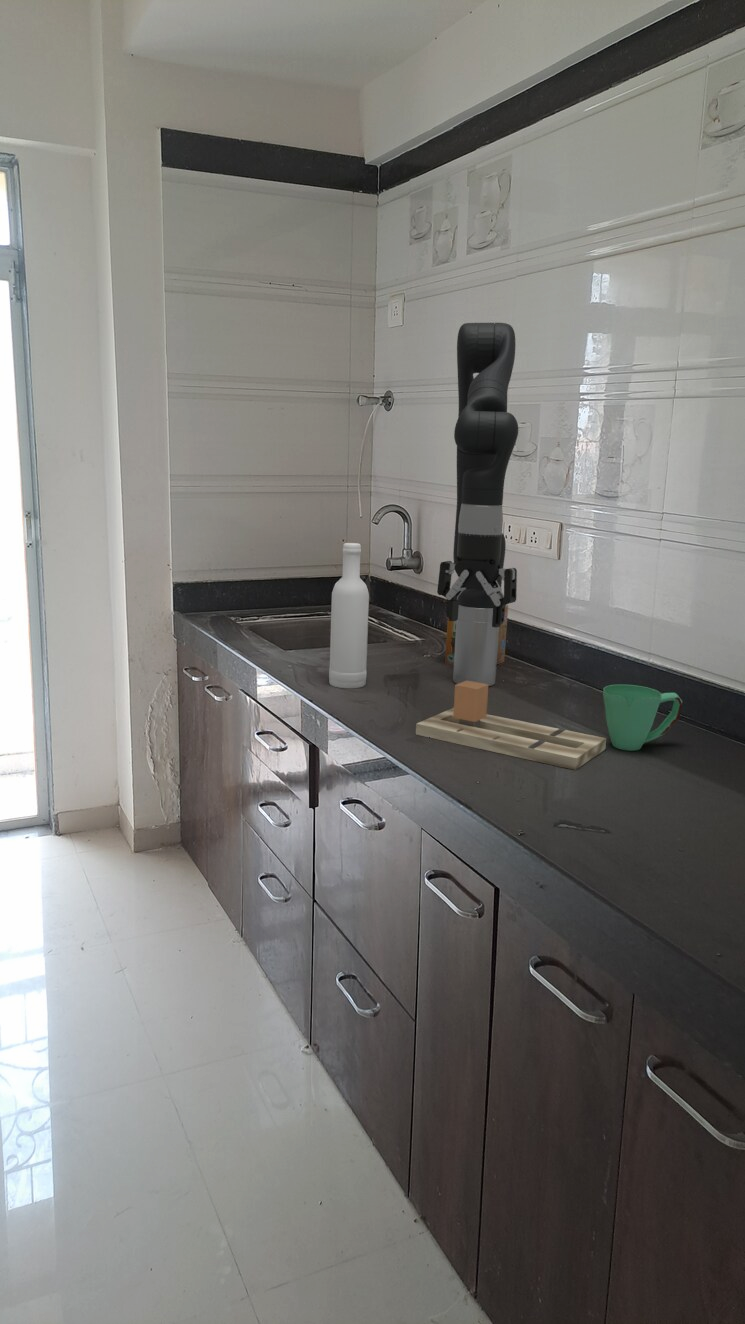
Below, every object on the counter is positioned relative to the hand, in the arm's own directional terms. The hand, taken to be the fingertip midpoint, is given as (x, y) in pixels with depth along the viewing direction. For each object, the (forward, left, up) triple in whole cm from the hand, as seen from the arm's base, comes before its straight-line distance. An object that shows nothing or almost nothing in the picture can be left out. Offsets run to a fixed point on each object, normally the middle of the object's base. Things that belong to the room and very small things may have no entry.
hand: (474, 623), depth 167 cm
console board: (0, +8, -20) cm, 22 cm away
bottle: (-15, -37, -20) cm, 45 cm away
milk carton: (-53, -26, -20) cm, 62 cm away
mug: (-13, +27, -20) cm, 36 cm away
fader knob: (0, 0, -20) cm, 20 cm away
